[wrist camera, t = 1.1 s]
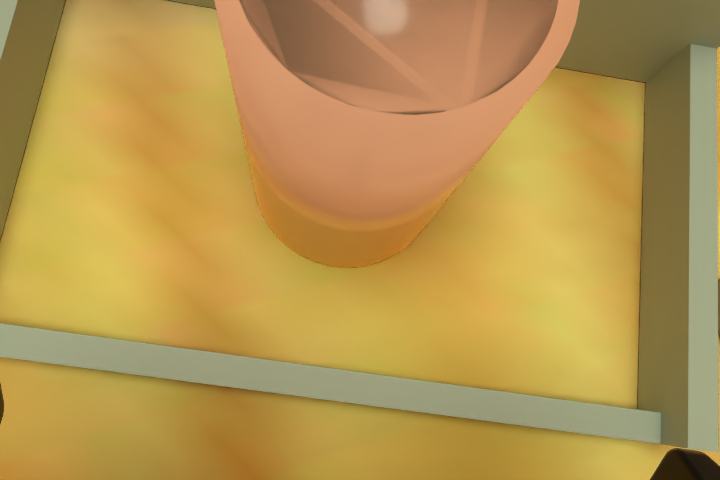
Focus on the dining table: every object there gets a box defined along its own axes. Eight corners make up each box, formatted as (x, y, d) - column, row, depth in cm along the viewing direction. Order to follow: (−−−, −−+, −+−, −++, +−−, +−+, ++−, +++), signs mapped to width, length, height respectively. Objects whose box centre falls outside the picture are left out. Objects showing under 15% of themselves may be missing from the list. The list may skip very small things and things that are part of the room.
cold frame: (663, 443, 22) (935, 487, 13) (-62, 347, 21) (-365, 317, 11) (669, 55, 26) (885, -134, 16) (52, -53, 24) (-105, -334, 15)
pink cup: (445, 262, 23) (607, 129, 11) (258, 273, 22) (214, 144, 10) (426, 90, 25) (552, -191, 13) (250, 96, 24) (203, -199, 12)
